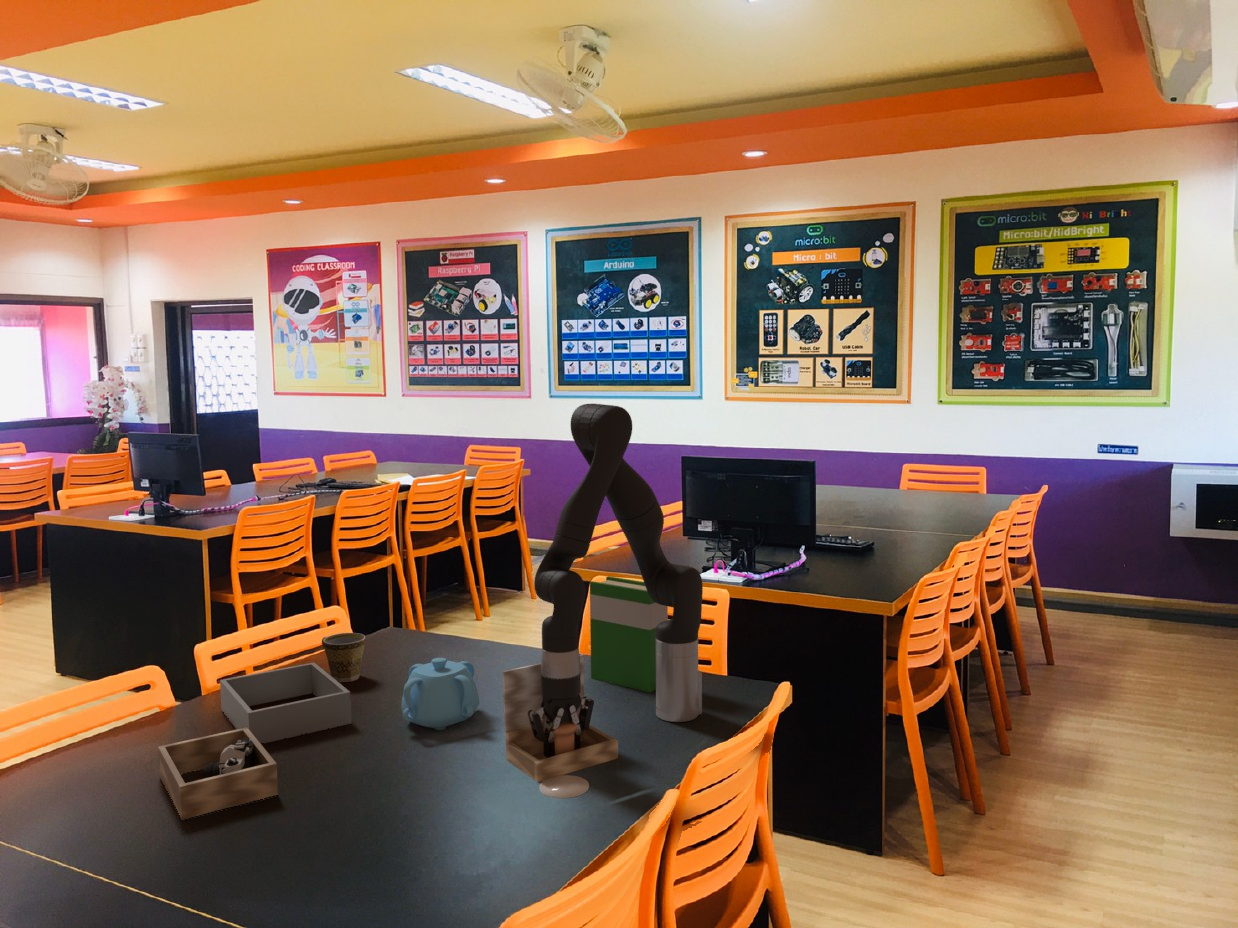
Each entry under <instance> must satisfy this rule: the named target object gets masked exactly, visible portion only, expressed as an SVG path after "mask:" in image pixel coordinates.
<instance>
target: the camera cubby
mask: <svg viewBox="0 0 1238 928" xmlns="http://www.w3.org/2000/svg"><path fill="white" fill-rule="evenodd" d="M242 738H249V739H251V740H253V745H254V767H251V768H247V769H243V770H238V771H234V772H230V773H226V774H222V775H218V776H213V777H209V778H205V779H203V778H202V779H197V780H193V781H189V782H185V780H184V779H183V777H182V774H181V773H185V774H187V773H186V772H190V771H194V770H198V769H202V770H204V768H205V766H206V765H209V763H214V762H215V763H218V762H219V761H220V755H221V753H222V752H223V750H224V749H225V748H226V747H228V746H230V745H236V743H237V741H238V740H241V739H242ZM157 749H158V751H157V752H158V754H157V755H158V766H159V767H158V768H159V778H160V780H161V782H162V784H163V786H164V785H165V786H164V788H165V790H166V792H167V791H168V792H167V794H168V793H169V794H168V796H169V795H170V796H169V798H170V797H171V798H170V800H171V799H172V800H173V802H172V803H174V804H173V806H174V805H175V806H176V808H175V810H176V809H177V810H178V812H177V814H178V813H179V814H178V815H180V816H179V817H181V818H180V820H181V819H182V820H183V819H186V818H189V817H190V818H191V817H194V816H198V817H200V816H199V815H202V814H205V813H208V812H211V811H214V810H220V809H222V808H226V807H229V806H232V805H239V804H243V803H246V802H250V801H253V800H260V799H263V800H265V799H264V798H266V797H269V796H273V795H278V796H279V786H278V785H279V784H278V767H277V765H278V764H277V762H276V761H275V760H274V758H273V757H272V756H271V755H270V753H269V752H268V751H267V750H266V749H265V747H264V746H263V744H260V743H259V741H258V740H257V739H256V738H255V737H254V735H253V734H252V733H251V732H250V730H249V729H248V728H247V727H246V728H242V729H233V730H229V731H225V732H224V731H223V732H219V733H215V734H210V735H205V736H200V737H196V738H191V739H187V740H186V739H185V740H182V741H177V742H173V743H168V744H163V745H159V746H157ZM198 771H199V770H198ZM194 772H195V771H194ZM190 773H191V772H190ZM180 774H181V775H180ZM172 800H171V801H172ZM260 801H261V800H260ZM175 806H174V807H175ZM177 810H176V811H177ZM202 816H203V815H202ZM194 818H195V817H194ZM191 819H192V818H191ZM182 820H181V821H182ZM183 821H184V820H183Z"/></svg>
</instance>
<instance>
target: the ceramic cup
mask: <svg viewBox="0 0 1238 928" xmlns="http://www.w3.org/2000/svg"><path fill="white" fill-rule="evenodd" d="M321 644H322V647H323V649H324V653H325V655H326V659H327V663H328V669H329V672H330V676H331V677H333V678H334V679H335V680H336V681H337V682H339V683H350V682H354V681H357V680H358V679H359V678H360V673H361V664H362V659H363V658H362V657H363V654H364V650H365V645H366V636H365V634H363V633H357V632H343V633H335V634H331V635H328V636H324V637H322V639H321Z"/></svg>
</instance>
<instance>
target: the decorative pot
mask: <svg viewBox="0 0 1238 928" xmlns="http://www.w3.org/2000/svg"><path fill="white" fill-rule="evenodd" d="M474 675H475V668H474V665H473V664H472V663H471V662H469V661H466V660H462V661H460V662H459V661H458V662H457V661H453V660H448V659H447V658H445V657H435V658H433V659H431V662H428V663H424V664H423V663H415V664H413V665H411V667H409V669H408V680H407V681H406V683H405V684H404V686H403V689H402V692H403V693H402V698H401V704H400V705H401V706H400V707H401V712H402V718H403V719H404V720H405V721H408V722H410V723H412V724H416V725H418V726H422V727H425V728H433V730H435V731H443V730H446V729H447V726H448V727H449V726H451V725H455V724H459V723H461V722H465V721H468V719H469V718H471V717H472V716H473V715H474V714H475V712H476V711H477V709H478V707H479V703H480V697H479V692H478V691H479V690H478V687H477V685H476V682H475V680H474V677H475V676H474Z"/></svg>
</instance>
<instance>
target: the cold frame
mask: <svg viewBox="0 0 1238 928" xmlns="http://www.w3.org/2000/svg"><path fill="white" fill-rule="evenodd" d="M579 654H580V653H579ZM584 661H585V660H584V654H583V653H581V654H580V682H581V692H580V697H581V698H583V697H584V696H585V681H584V680H585V675H584V674H585V671H584V669H585V668H584V666H585V664H584ZM502 686H503V687H502V692H503V693H502V697H503V732H504V733H505V753H506V755H505V757H506V761H507V762H508V763H509V764H511V765H512V766H514V767H515V768H517V769H518V770H520V771H521V772H522V773H524V774H525V775H527V776H528V778H531V779H532V780H533V781H535V782H537V783H541V782H543V781H544V780H546V779H548V778H551V777H554V776H560V775H566V774H567V775H568V774H570V773H573V772H576V771H579V770H583V769H587V768H590V767H593V766H596V765H601V764H604V763H606V762H610V761H613V760H616V759H619V740H617V739H616V738H614V737H612V736H611V735H609V734H607V733H606V732H603V731H602V730H600V729H598V728H596V727H594V726H593V725H591V724H590V725H589V728H588V729H587V730H584V731H582V732H581V734H580V749H578V750H574V751H570V752H567V753H563V754H560V755H556V756H553V757H549V758H546V757H545V756H544V742H541V741H539V740H538V739H536V738H535V737H534V735H533V731H532V728H531V724H530V720H529V717H528V711H529V710H533V711H534V710H536V709H538V708H540V707H541V703H542V700H543V698H542V691H541V662H538V663H535V664H531V665H530V664H529V665H525V666H520V667H516V668H511V669H506V670H503V671H502ZM576 713H577V716H578V718H579V713H580V707H579V708H578V710H577V712H576ZM545 717H546V716H545V714H544V713H543V715H542V718H543V720H542V721H541V723H542V726H543V730H544V721H545Z"/></svg>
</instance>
